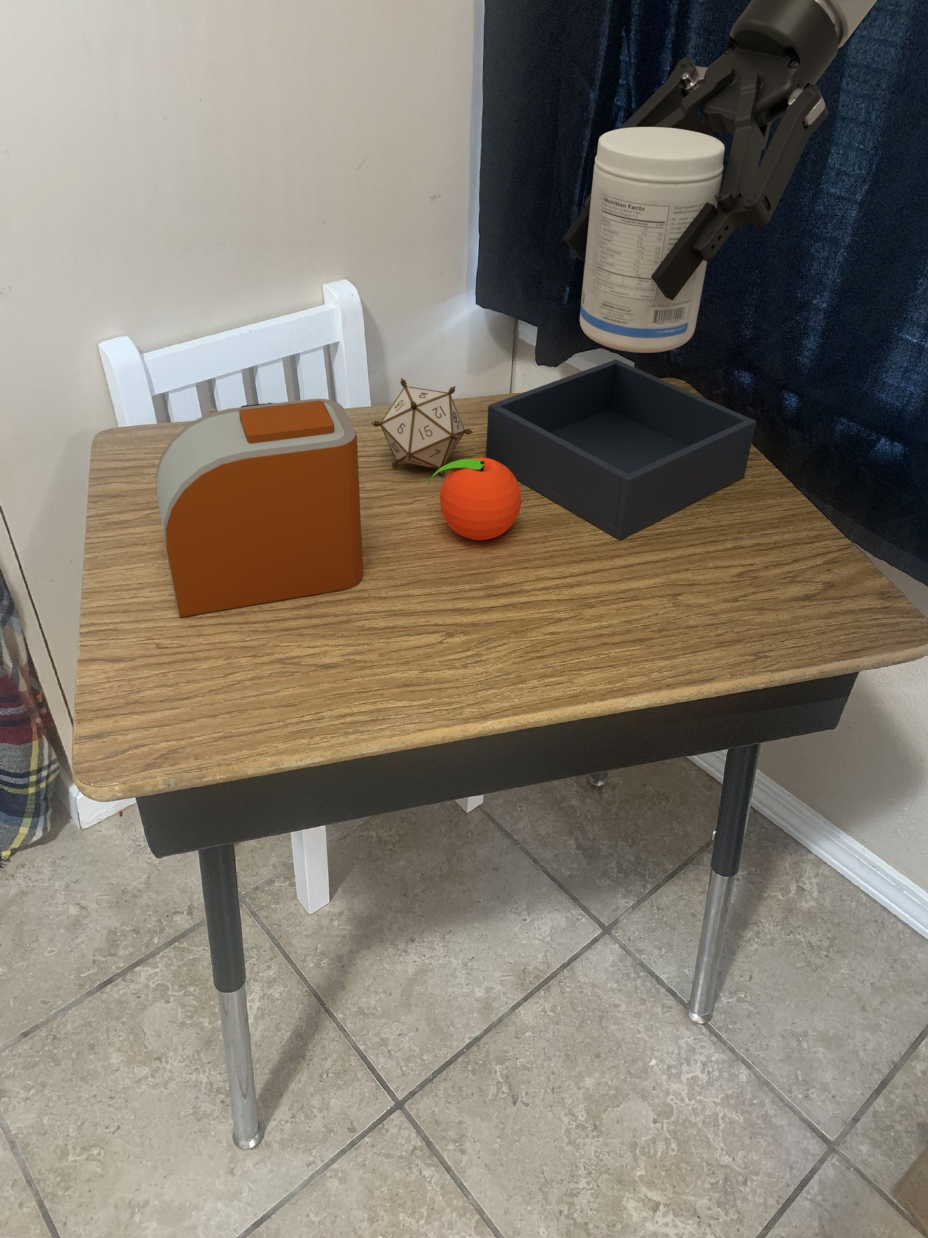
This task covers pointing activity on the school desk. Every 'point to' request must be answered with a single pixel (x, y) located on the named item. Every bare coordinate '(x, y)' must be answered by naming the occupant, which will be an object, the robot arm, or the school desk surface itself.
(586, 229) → the robot arm
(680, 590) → the school desk surface
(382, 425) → the game die
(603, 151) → the supplement tub
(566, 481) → the bin
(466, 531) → the clementine
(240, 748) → the school desk surface
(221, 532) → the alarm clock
